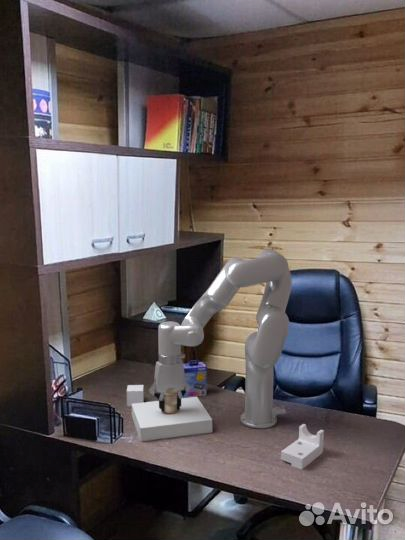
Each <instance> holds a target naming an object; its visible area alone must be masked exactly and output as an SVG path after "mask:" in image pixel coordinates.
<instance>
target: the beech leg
mask: <svg viewBox="0 0 405 540" xmlns="http://www.w3.org/2000/svg"><path fill="white" fill-rule="evenodd" d="M163 400H164V412H163V413H165V414H169V415H171V414H175V413H177V391H176V388H175V389H167V391H166V392H164V396H163Z"/></svg>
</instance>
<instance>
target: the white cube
mask: <svg viewBox="0 0 405 540" xmlns="http://www.w3.org/2000/svg"><path fill="white" fill-rule="evenodd" d="M126 386H127V388H126V407H132V404H134V403H143V402H144V401H145V397H144V396H145V395H144V392H145V388H144V384H127V385H126Z"/></svg>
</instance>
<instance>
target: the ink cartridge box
mask: <svg viewBox="0 0 405 540" xmlns="http://www.w3.org/2000/svg"><path fill="white" fill-rule="evenodd" d="M183 366H184V373H185V380H186V382H187V383H188V384H189V385H190V386H191V389H190V390H188V391H187V392H186V393H185V395H184V396H183V397H182V398H189V397H202V396H207V378H208V376H207V374H208V372H207V371H208V366H207V365H206V364H205V363H204V361H200V360H199V359H195V360H189V362H188V363H187V362H186V363H183Z"/></svg>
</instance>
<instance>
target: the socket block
mask: <svg viewBox="0 0 405 540" xmlns="http://www.w3.org/2000/svg"><path fill="white" fill-rule="evenodd" d="M131 417H132V419H133V423H134V426H135V429H136V432H137V435H138V438H139V441H140V442H147V441H154V440H162V439H169V438H170V439H171V438H178V437H185V436H192V435H193V436H194V435H203V434H209V433H213V418H212V417H211V416H210V413H208V411H207V409H206V408H205V406H204V405H203V404H202V402H201V401H200V399H199V398H198V396H196V397H187V398H183V397H182V399H181V407H180V410H177V413H175V414H171V415H169V414H165V413H163V412H162V411H161V409H159V400H153V401H146V402H143V403H134V404H132V406H131Z"/></svg>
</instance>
